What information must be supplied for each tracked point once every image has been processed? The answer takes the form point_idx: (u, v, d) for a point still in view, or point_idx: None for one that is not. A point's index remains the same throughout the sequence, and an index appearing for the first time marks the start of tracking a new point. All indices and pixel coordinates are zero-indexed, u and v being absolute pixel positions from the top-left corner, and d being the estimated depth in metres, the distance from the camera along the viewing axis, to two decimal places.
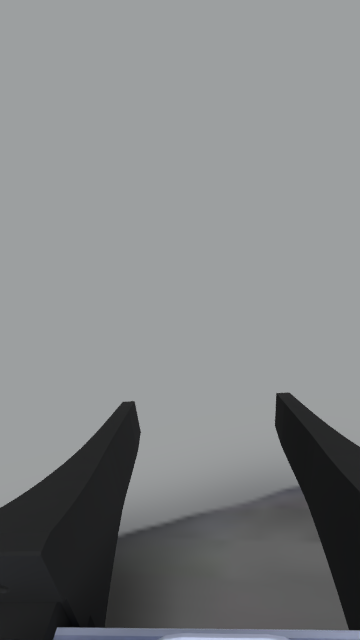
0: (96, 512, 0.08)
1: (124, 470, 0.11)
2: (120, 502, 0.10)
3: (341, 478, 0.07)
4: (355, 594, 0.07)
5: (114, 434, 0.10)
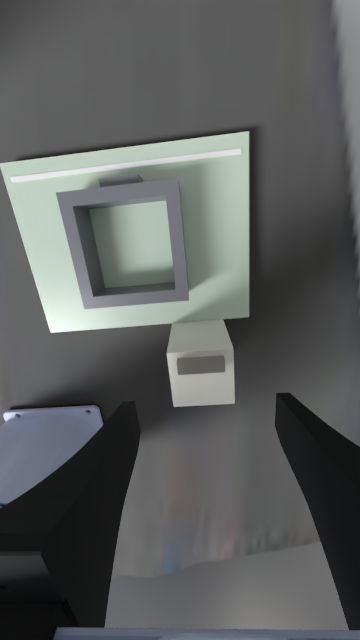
0: (96, 512, 0.08)
1: (124, 470, 0.11)
2: (120, 501, 0.10)
3: (341, 478, 0.07)
4: (355, 594, 0.07)
5: (114, 434, 0.10)
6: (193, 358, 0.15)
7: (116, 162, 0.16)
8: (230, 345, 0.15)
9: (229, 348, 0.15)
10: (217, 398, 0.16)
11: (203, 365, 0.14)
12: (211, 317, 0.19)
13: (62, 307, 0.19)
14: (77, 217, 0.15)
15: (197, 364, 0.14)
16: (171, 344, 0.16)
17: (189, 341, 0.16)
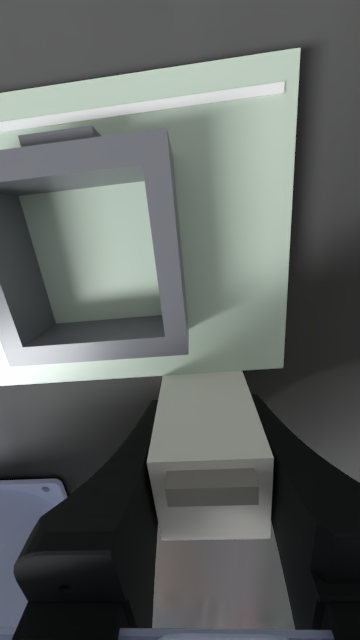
0: (143, 511, 0.08)
1: None
2: None
3: (286, 479, 0.07)
4: (298, 594, 0.07)
5: None
6: (198, 472, 0.08)
7: (58, 112, 0.09)
8: (266, 446, 0.08)
9: (265, 457, 0.08)
10: (239, 530, 0.09)
11: (216, 493, 0.07)
12: (223, 367, 0.12)
13: None
14: None
15: (204, 490, 0.07)
16: (157, 434, 0.09)
17: (188, 428, 0.09)
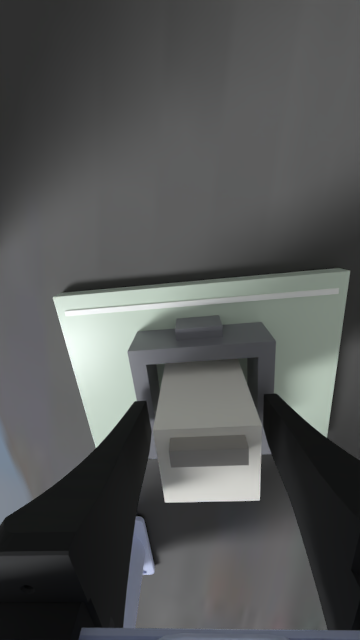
0: (115, 511, 0.08)
1: (138, 469, 0.11)
2: (135, 501, 0.10)
3: (319, 478, 0.07)
4: (332, 593, 0.07)
5: (129, 433, 0.10)
6: (197, 438, 0.09)
7: (189, 298, 0.14)
8: (255, 417, 0.09)
9: (254, 425, 0.09)
10: (233, 493, 0.10)
11: (213, 454, 0.09)
12: None
13: None
14: (148, 371, 0.13)
15: (203, 452, 0.09)
16: (162, 408, 0.10)
17: (189, 403, 0.10)
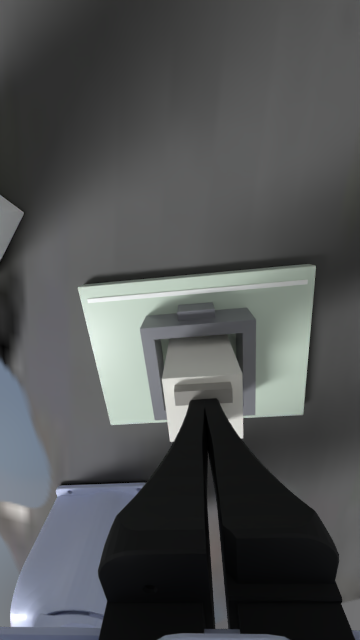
0: None
1: (205, 467, 0.10)
2: (206, 499, 0.10)
3: (217, 482, 0.07)
4: (226, 593, 0.07)
5: (201, 430, 0.10)
6: (194, 385, 0.12)
7: (188, 288, 0.17)
8: (238, 369, 0.13)
9: (237, 374, 0.12)
10: None
11: (206, 394, 0.12)
12: (266, 414, 0.20)
13: (124, 404, 0.20)
14: (156, 345, 0.16)
15: (199, 392, 0.12)
16: (167, 367, 0.13)
17: (188, 363, 0.14)
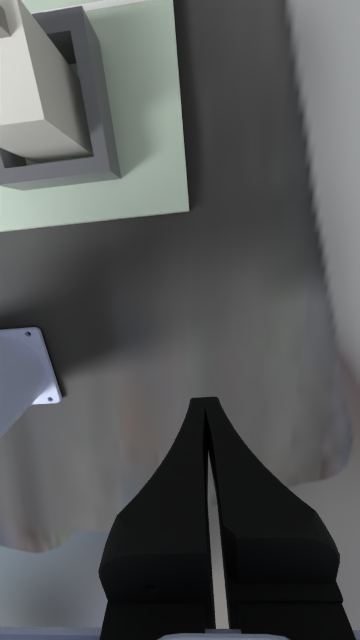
0: (206, 509, 0.08)
1: (206, 467, 0.10)
2: (207, 499, 0.10)
3: (217, 481, 0.07)
4: (226, 593, 0.07)
5: (202, 430, 0.10)
6: None
7: None
8: None
9: None
10: (17, 108, 0.11)
11: None
12: (148, 211, 0.18)
13: None
14: None
15: None
16: None
17: None
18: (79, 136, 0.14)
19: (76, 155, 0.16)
